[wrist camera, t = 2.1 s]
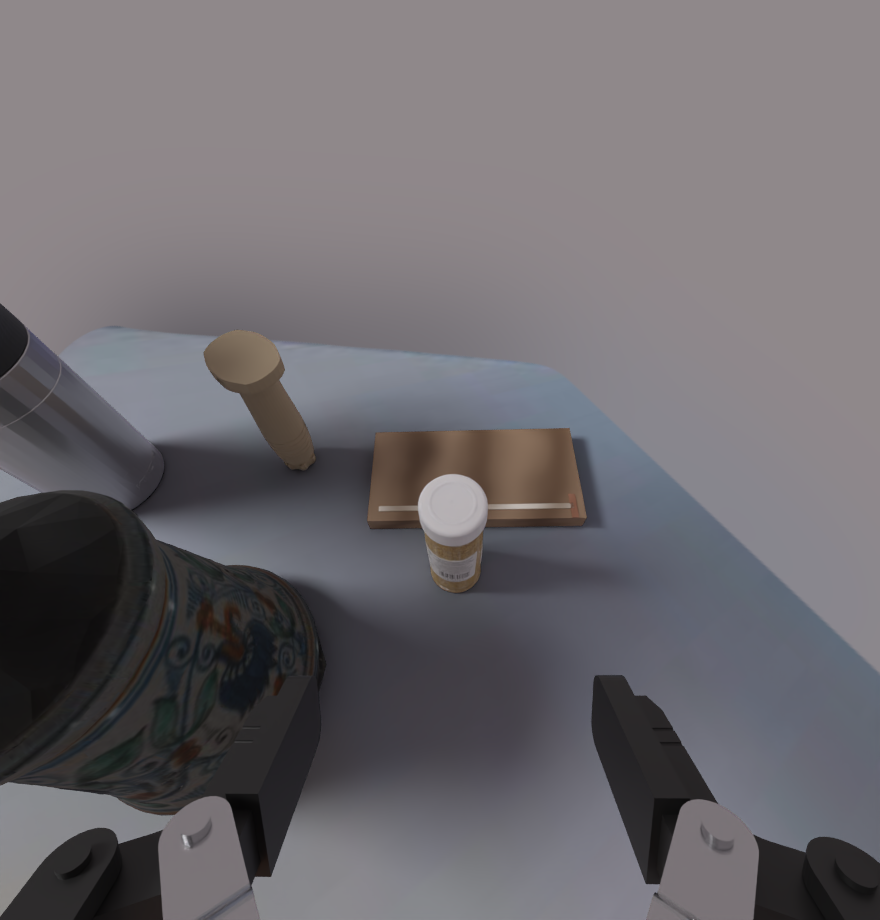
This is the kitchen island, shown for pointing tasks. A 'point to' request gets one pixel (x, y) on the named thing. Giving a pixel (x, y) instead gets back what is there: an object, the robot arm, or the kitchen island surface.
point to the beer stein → (132, 652)
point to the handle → (262, 392)
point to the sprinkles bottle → (453, 530)
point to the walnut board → (479, 475)
